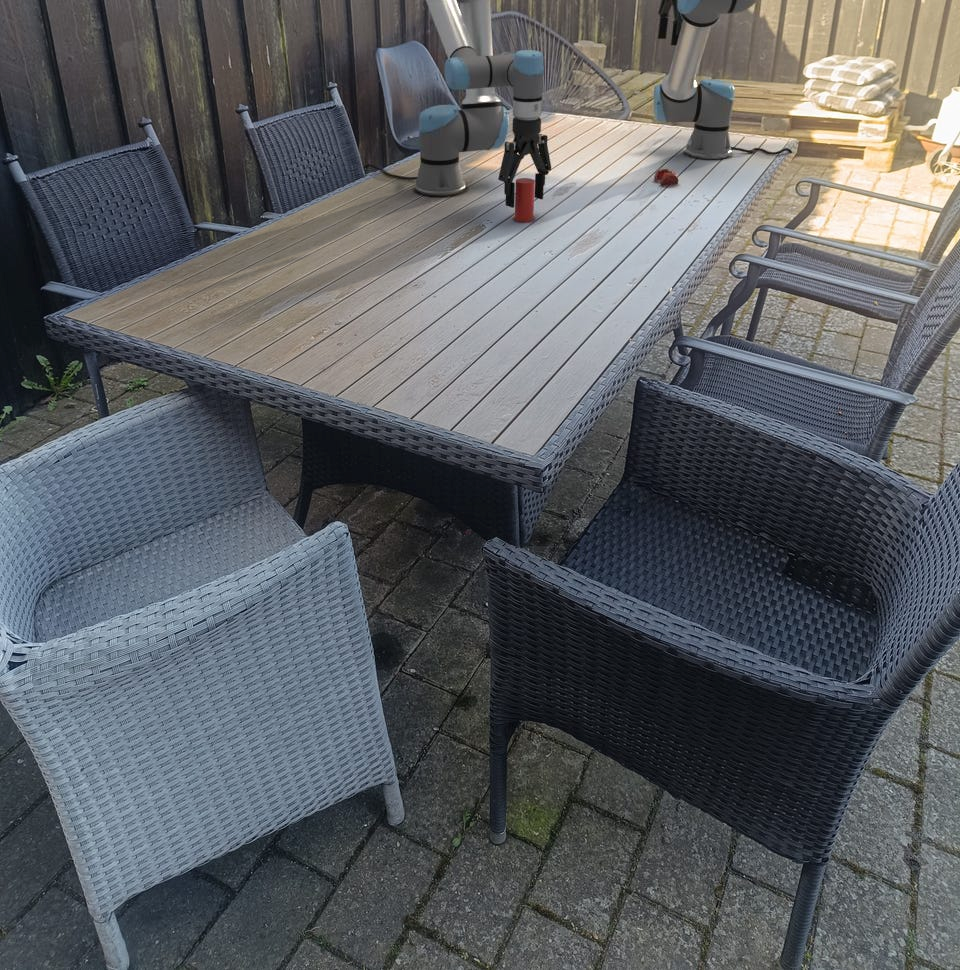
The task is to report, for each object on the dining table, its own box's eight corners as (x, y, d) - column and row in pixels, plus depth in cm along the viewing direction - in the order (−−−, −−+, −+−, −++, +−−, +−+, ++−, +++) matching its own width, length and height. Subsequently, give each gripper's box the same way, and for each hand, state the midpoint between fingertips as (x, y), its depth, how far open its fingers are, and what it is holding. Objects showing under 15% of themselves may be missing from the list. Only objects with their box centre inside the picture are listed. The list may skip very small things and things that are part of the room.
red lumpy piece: (669, 164, 265) (680, 172, 259) (668, 178, 267) (679, 185, 261) (653, 166, 264) (664, 174, 258) (652, 180, 266) (662, 188, 260)
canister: (518, 222, 233) (519, 184, 227) (512, 217, 237) (512, 178, 231) (536, 220, 235) (537, 182, 229) (529, 215, 239) (530, 177, 233)
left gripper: (504, 126, 212) (503, 214, 225) (567, 113, 224) (563, 196, 237) (484, 121, 217) (484, 207, 229) (547, 108, 229) (544, 191, 242)
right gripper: (653, -33, 290) (646, 36, 303) (678, -26, 270) (670, 48, 283) (674, -33, 291) (666, 35, 304) (701, -26, 271) (691, 47, 284)
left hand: (524, 202), depth 233 cm, fingers open, 10 cm apart
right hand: (668, 41), depth 293 cm, fingers open, 13 cm apart
